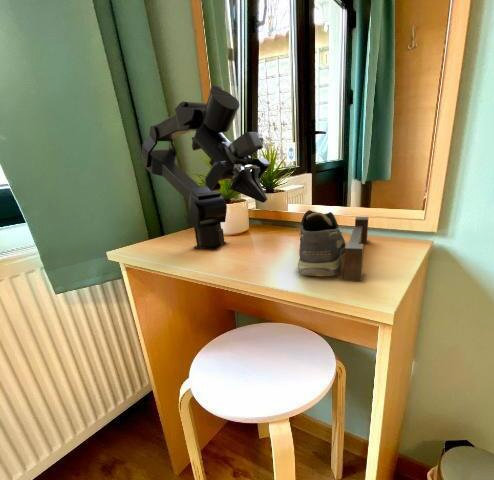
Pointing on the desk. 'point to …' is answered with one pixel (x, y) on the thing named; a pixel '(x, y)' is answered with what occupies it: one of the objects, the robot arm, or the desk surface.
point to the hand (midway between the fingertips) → (265, 201)
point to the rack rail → (355, 250)
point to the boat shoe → (320, 245)
